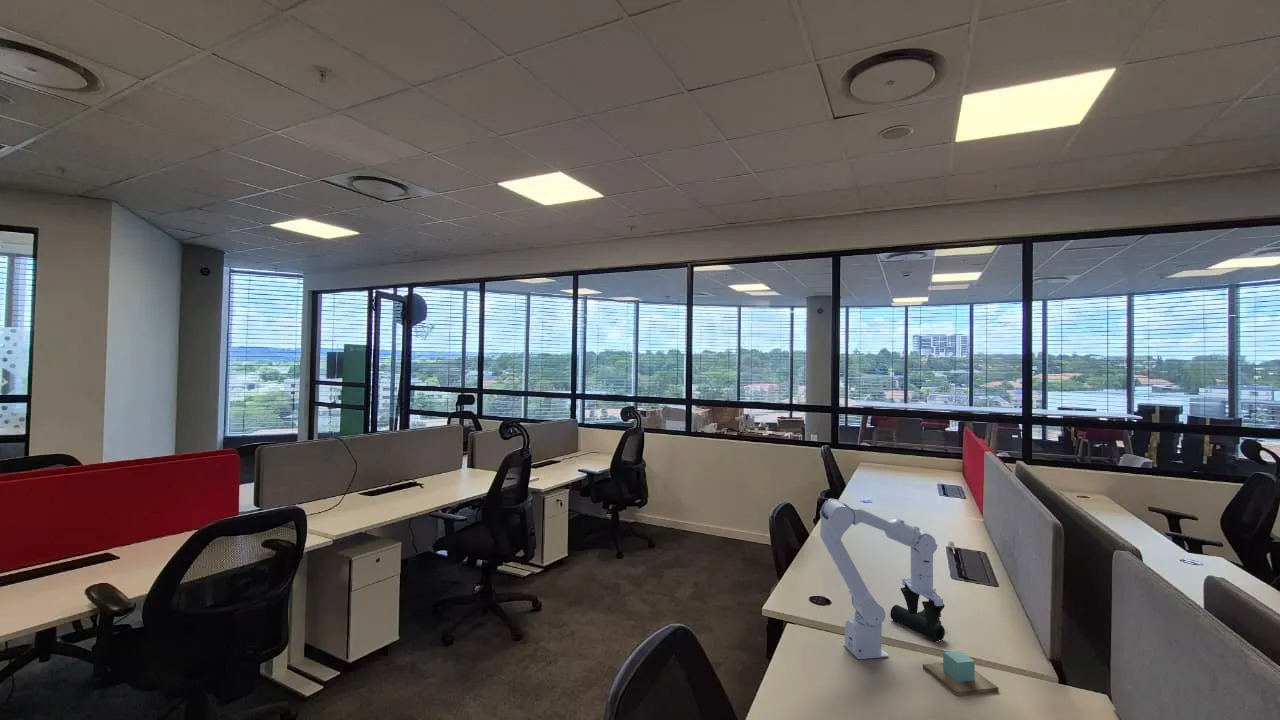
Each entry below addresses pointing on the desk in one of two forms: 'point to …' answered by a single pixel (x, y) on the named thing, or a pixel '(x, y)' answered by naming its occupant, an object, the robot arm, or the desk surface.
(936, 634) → the pipe connector
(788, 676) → the desk surface
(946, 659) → the teal cube
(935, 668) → the base plate
